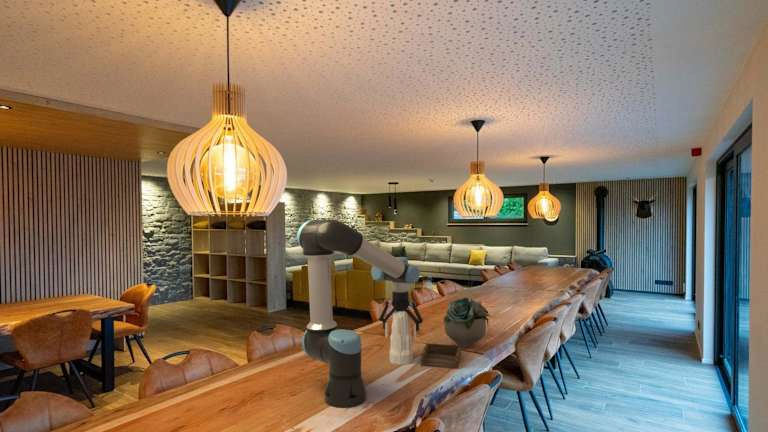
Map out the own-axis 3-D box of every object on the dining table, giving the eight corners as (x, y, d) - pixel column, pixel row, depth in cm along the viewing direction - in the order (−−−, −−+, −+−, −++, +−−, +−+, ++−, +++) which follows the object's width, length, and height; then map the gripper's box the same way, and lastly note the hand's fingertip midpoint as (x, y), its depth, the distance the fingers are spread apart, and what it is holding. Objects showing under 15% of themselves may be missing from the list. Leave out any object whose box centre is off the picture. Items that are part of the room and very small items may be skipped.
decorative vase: (411, 365, 180) (410, 308, 181) (387, 364, 183) (386, 308, 183) (414, 357, 191) (413, 304, 192) (392, 356, 193) (391, 303, 194)
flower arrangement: (500, 349, 202) (499, 299, 203) (456, 355, 194) (455, 303, 194) (473, 336, 226) (472, 292, 226) (432, 341, 217) (432, 295, 218)
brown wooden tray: (458, 368, 176) (458, 357, 176) (420, 365, 180) (420, 354, 180) (461, 356, 192) (461, 345, 192) (426, 353, 196) (426, 343, 196)
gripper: (428, 290, 188) (429, 336, 187) (376, 288, 194) (377, 333, 194) (426, 293, 181) (426, 341, 180) (372, 291, 187) (372, 337, 187)
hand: (401, 337), depth 187 cm, fingers open, 13 cm apart
